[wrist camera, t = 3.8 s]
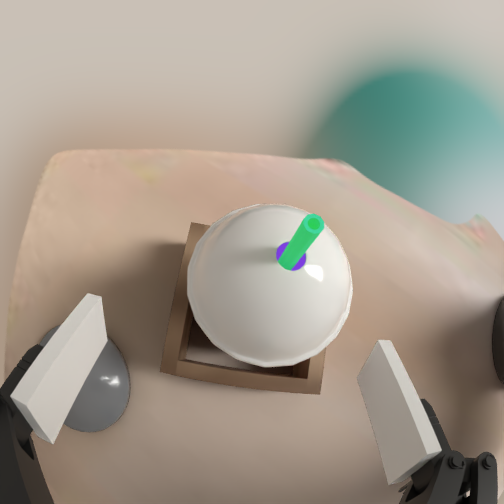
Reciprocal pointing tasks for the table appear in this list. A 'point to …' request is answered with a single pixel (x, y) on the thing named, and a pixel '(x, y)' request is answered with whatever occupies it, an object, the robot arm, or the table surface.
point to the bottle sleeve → (174, 362)
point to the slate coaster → (100, 391)
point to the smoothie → (270, 284)
